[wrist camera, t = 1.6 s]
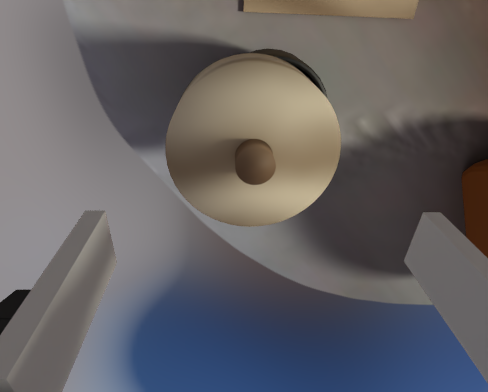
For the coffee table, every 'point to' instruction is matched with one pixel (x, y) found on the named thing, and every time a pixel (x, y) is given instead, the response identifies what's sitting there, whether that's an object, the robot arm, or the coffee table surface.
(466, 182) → the alarm clock
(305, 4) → the mat
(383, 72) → the coffee table surface
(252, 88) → the lid
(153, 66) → the coffee table surface
